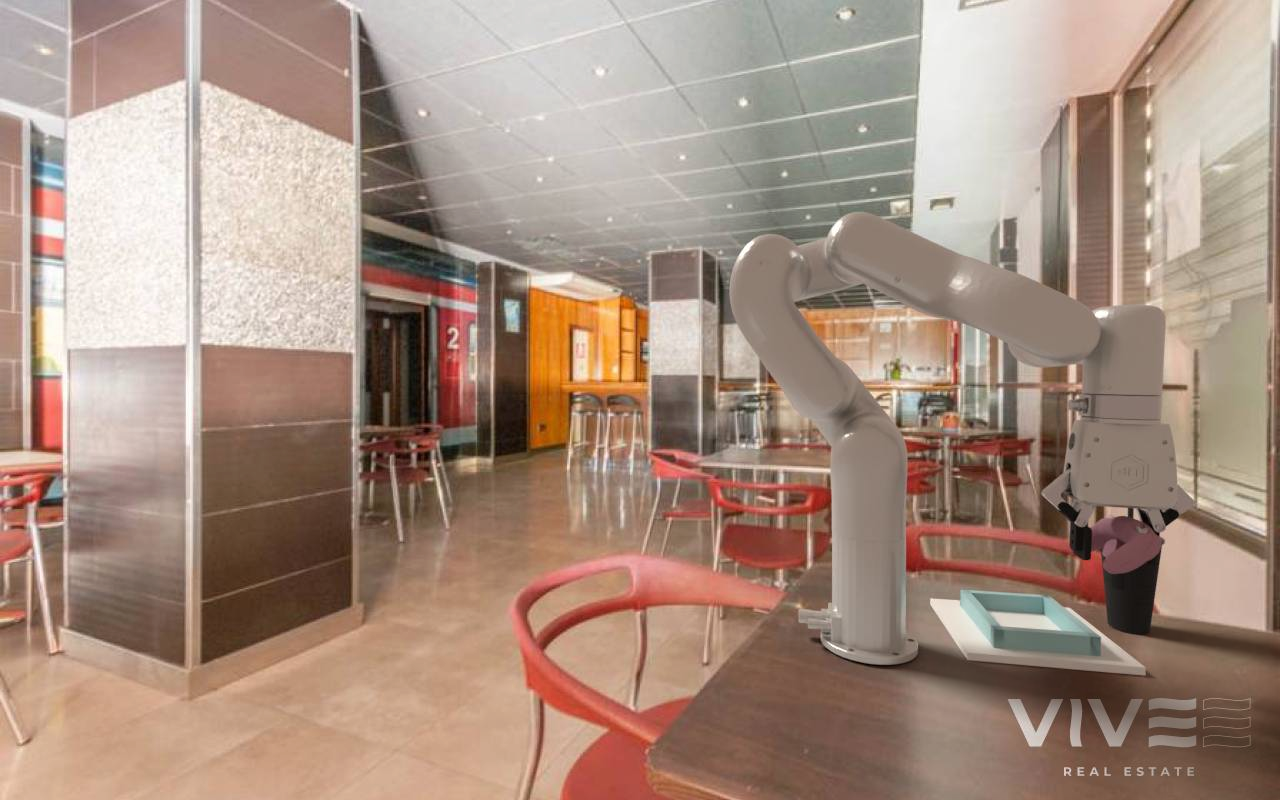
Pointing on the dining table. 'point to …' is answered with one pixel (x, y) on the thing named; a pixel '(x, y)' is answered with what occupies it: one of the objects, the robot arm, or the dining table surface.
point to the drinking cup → (1131, 595)
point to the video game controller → (1124, 543)
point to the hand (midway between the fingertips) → (1112, 558)
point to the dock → (1029, 633)
